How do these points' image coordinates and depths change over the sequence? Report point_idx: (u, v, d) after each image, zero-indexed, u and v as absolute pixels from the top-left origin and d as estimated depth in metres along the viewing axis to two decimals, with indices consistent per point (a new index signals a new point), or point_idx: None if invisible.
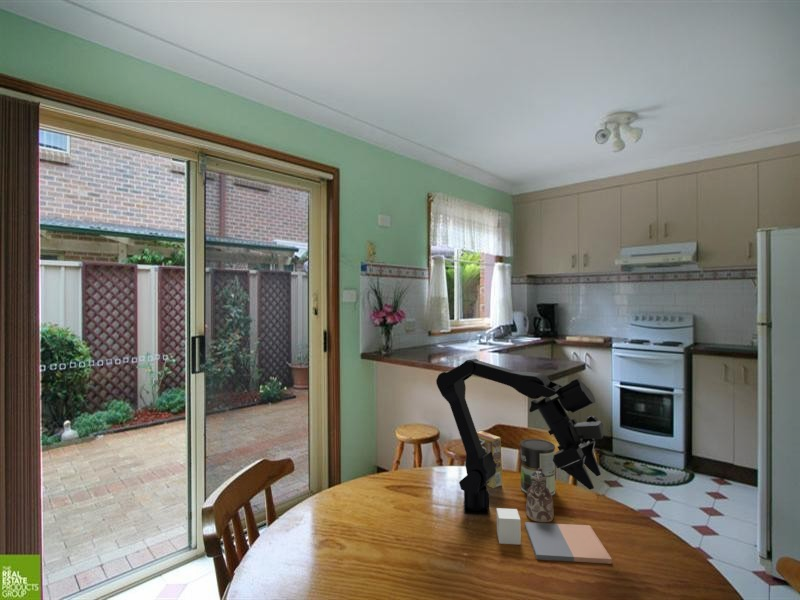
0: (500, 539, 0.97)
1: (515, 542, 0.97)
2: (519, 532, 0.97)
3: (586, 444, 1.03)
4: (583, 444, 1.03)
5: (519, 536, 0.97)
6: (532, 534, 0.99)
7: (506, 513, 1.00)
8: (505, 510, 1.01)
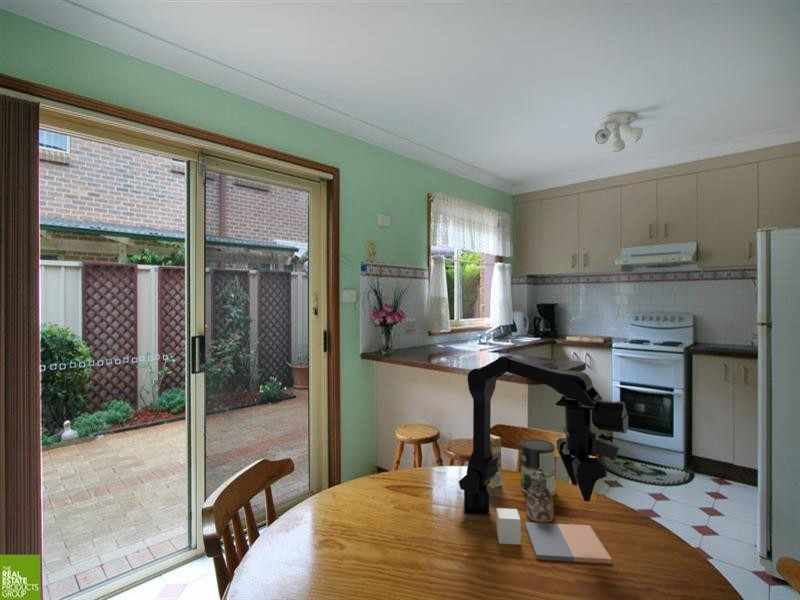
0: (500, 539, 0.97)
1: (515, 542, 0.97)
2: (519, 532, 0.97)
3: None
4: None
5: (519, 536, 0.97)
6: (532, 534, 0.99)
7: (506, 513, 1.00)
8: (505, 510, 1.01)
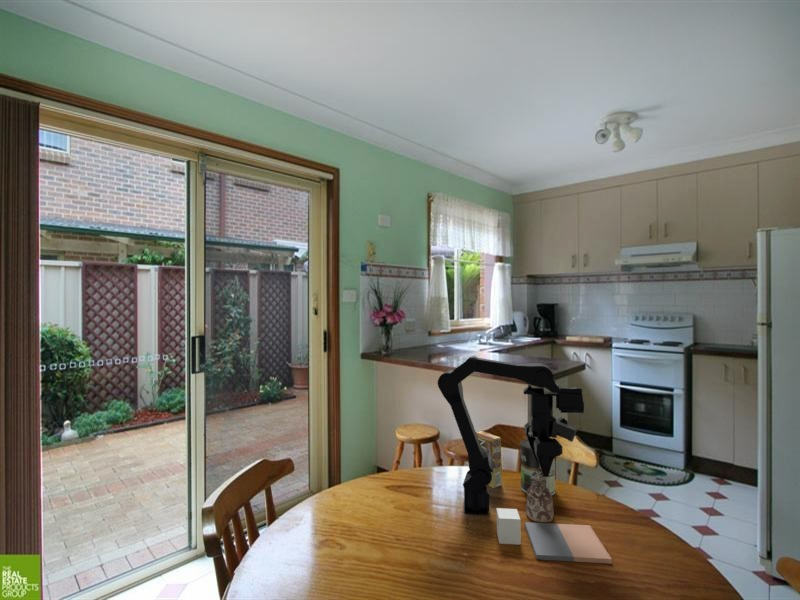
0: (500, 539, 0.97)
1: (515, 542, 0.97)
2: (519, 532, 0.97)
3: None
4: None
5: (519, 536, 0.97)
6: (532, 534, 0.99)
7: (506, 513, 1.00)
8: (505, 510, 1.01)
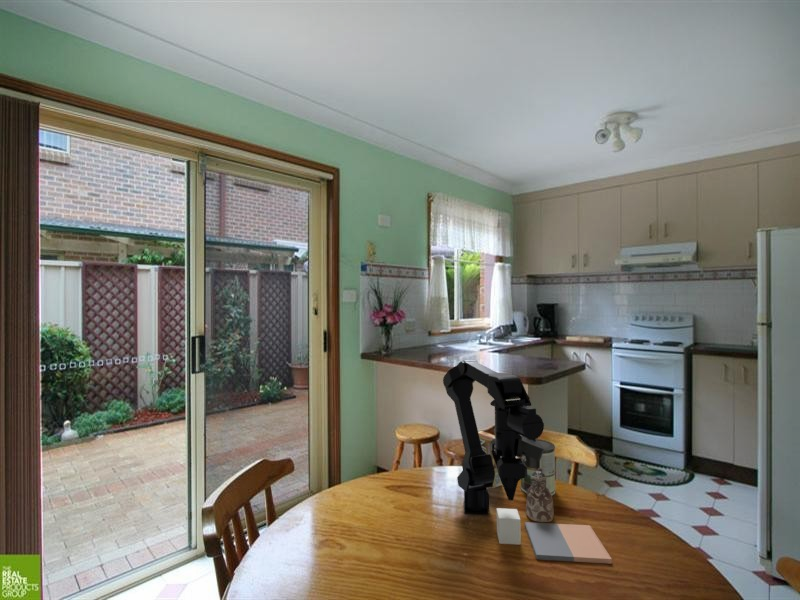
0: (500, 539, 0.97)
1: (515, 542, 0.97)
2: (519, 532, 0.97)
3: None
4: None
5: (519, 536, 0.97)
6: (532, 534, 0.99)
7: (506, 513, 1.00)
8: (505, 510, 1.01)
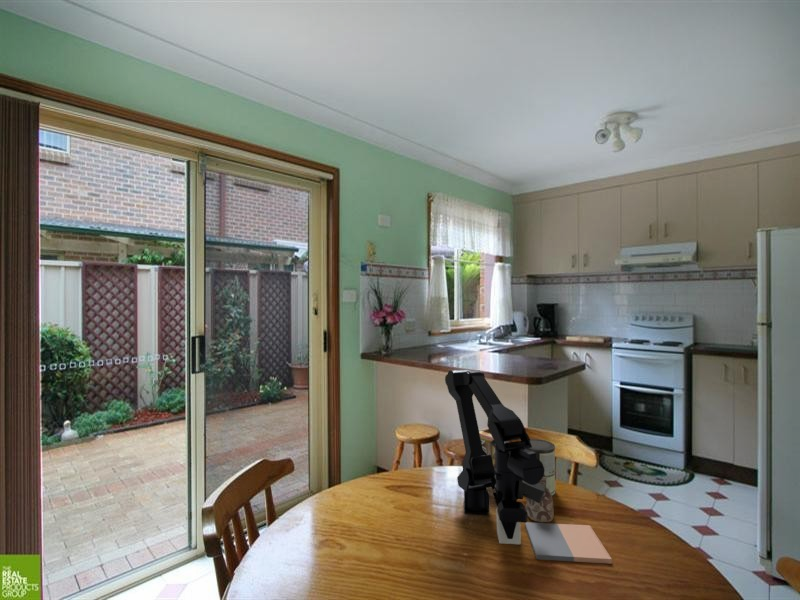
0: (500, 539, 0.97)
1: (515, 542, 0.97)
2: (519, 532, 0.97)
3: None
4: None
5: (519, 536, 0.97)
6: (532, 534, 0.99)
7: None
8: None
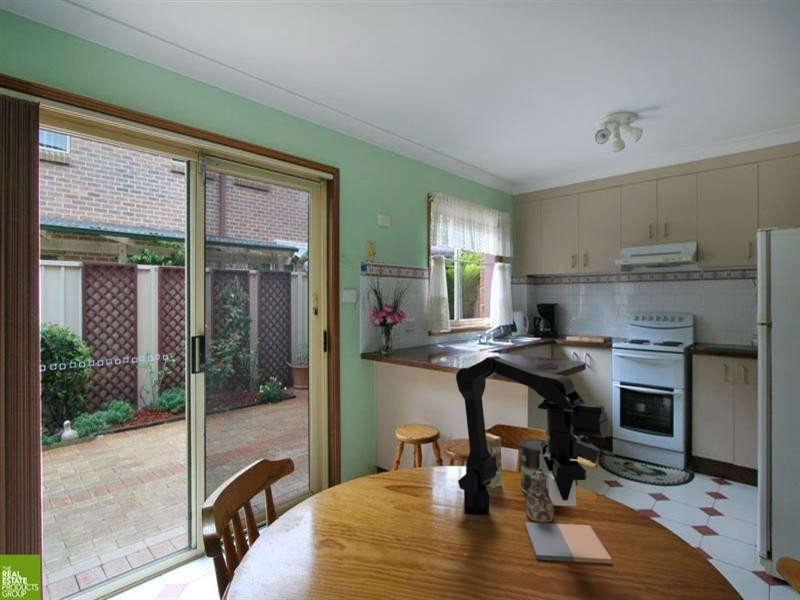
0: (554, 500, 0.95)
1: (570, 503, 0.95)
2: (574, 493, 0.95)
3: None
4: None
5: (574, 497, 0.95)
6: (532, 534, 0.99)
7: None
8: None
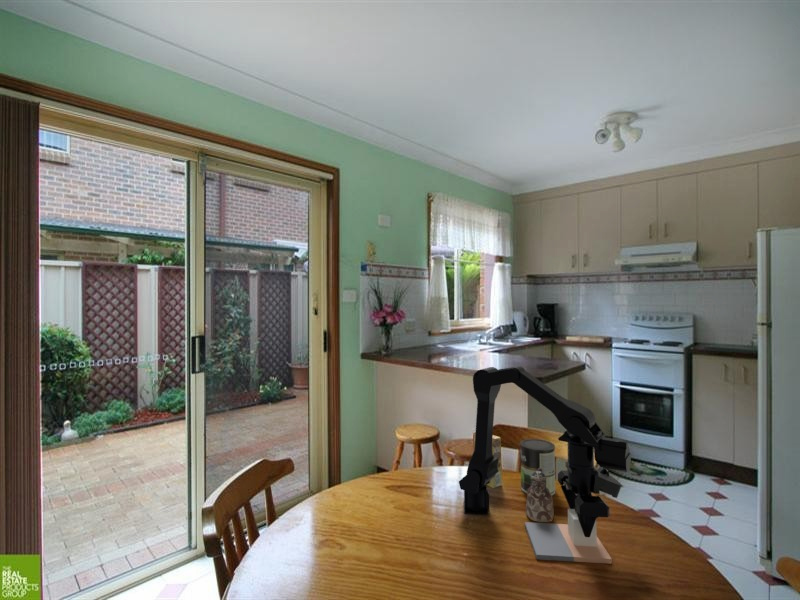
0: (575, 541, 0.94)
1: (591, 544, 0.94)
2: (595, 533, 0.94)
3: None
4: None
5: (595, 538, 0.94)
6: (532, 534, 0.99)
7: None
8: None
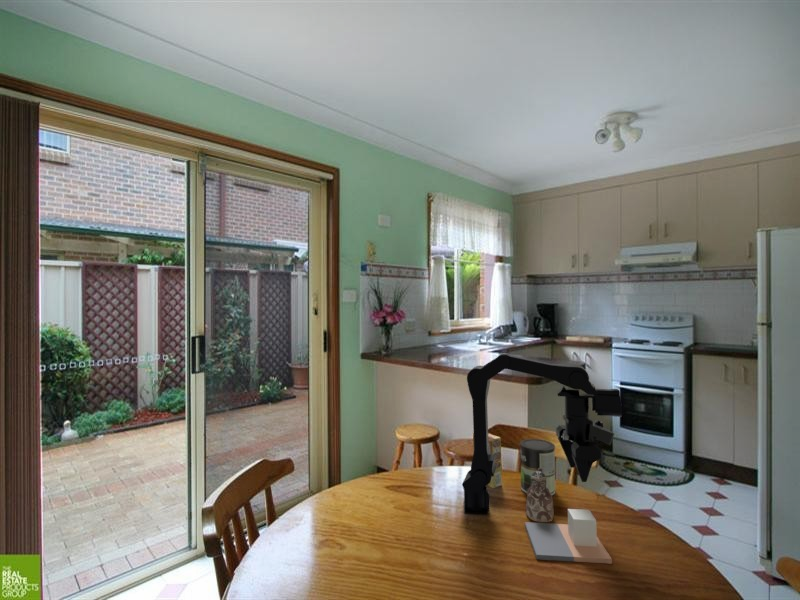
0: (575, 541, 0.94)
1: (591, 544, 0.94)
2: (595, 533, 0.94)
3: None
4: None
5: (595, 538, 0.94)
6: (532, 534, 0.99)
7: (579, 514, 0.97)
8: (578, 511, 0.98)
